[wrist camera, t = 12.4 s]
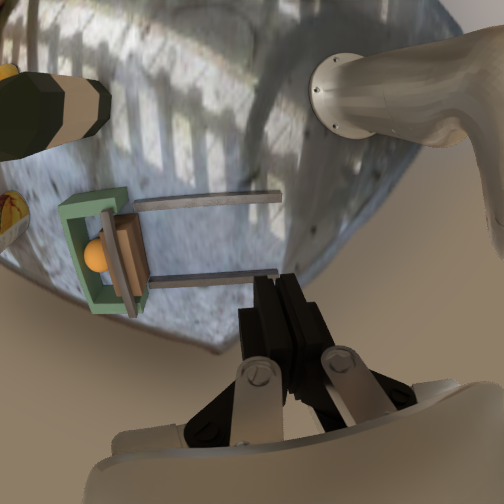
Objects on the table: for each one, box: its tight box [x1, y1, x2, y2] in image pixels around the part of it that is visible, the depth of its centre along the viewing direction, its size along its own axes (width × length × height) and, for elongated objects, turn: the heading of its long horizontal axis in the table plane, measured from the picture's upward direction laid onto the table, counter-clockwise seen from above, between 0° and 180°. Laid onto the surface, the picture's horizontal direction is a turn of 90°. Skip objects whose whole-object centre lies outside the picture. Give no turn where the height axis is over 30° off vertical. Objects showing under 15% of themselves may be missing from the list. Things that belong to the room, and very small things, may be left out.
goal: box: [58, 187, 149, 314], centre depth 36 cm, size 9×18×5 cm, turn 1°
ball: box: [84, 238, 108, 272], centre depth 36 cm, size 5×5×5 cm
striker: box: [99, 208, 150, 318], centre depth 35 cm, size 4×16×7 cm, turn 1°
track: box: [132, 191, 282, 289], centre depth 39 cm, size 20×14×2 cm
